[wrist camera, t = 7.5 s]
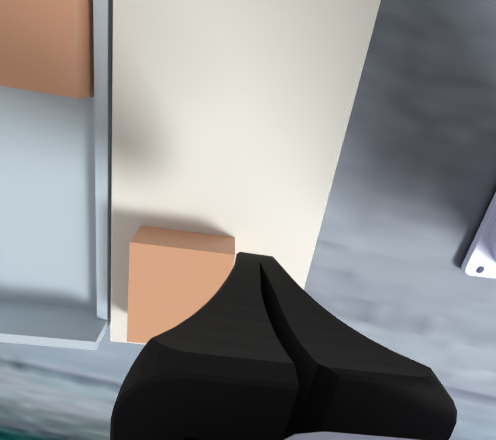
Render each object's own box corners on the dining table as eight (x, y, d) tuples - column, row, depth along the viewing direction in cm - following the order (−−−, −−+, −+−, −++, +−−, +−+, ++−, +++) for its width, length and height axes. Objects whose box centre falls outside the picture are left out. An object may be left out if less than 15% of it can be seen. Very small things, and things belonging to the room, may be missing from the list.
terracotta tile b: (234, 237, 18) (235, 255, 16) (220, 325, 20) (219, 350, 18) (140, 225, 17) (129, 242, 15) (136, 317, 19) (126, 341, 18)
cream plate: (381, -50, 14) (397, -64, 13) (282, 340, 23) (285, 356, 21) (126, -108, 13) (113, -131, 12) (118, 324, 21) (110, 341, 20)
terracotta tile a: (93, -56, 14) (71, -77, 12) (95, 96, 16) (77, 98, 14) (-36, -83, 13) (-80, -110, 11) (-16, 78, 15) (-50, 77, 13)
